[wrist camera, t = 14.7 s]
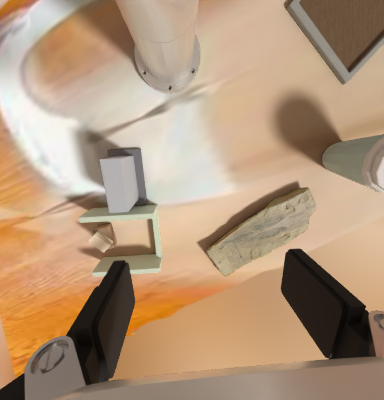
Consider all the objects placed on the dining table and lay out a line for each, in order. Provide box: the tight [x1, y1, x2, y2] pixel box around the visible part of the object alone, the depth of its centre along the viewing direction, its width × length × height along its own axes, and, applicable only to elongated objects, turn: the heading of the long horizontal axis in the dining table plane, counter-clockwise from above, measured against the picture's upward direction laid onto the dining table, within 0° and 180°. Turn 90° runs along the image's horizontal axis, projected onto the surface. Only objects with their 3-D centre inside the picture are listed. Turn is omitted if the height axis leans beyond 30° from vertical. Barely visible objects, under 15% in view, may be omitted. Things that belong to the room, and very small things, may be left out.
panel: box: [108, 149, 147, 205], centre depth 41 cm, size 13×7×1 cm, turn 2°
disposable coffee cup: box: [322, 134, 384, 193], centre depth 36 cm, size 11×11×15 cm
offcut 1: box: [93, 223, 117, 249], centre depth 44 cm, size 6×3×3 cm, turn 9°
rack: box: [79, 205, 163, 277], centre depth 43 cm, size 15×16×6 cm
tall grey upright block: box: [99, 156, 139, 213], centre depth 37 cm, size 10×4×9 cm, turn 2°
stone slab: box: [206, 187, 316, 276], centre depth 46 cm, size 12×4×30 cm
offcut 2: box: [88, 230, 114, 253], centre depth 42 cm, size 4×3×2 cm, turn 44°
